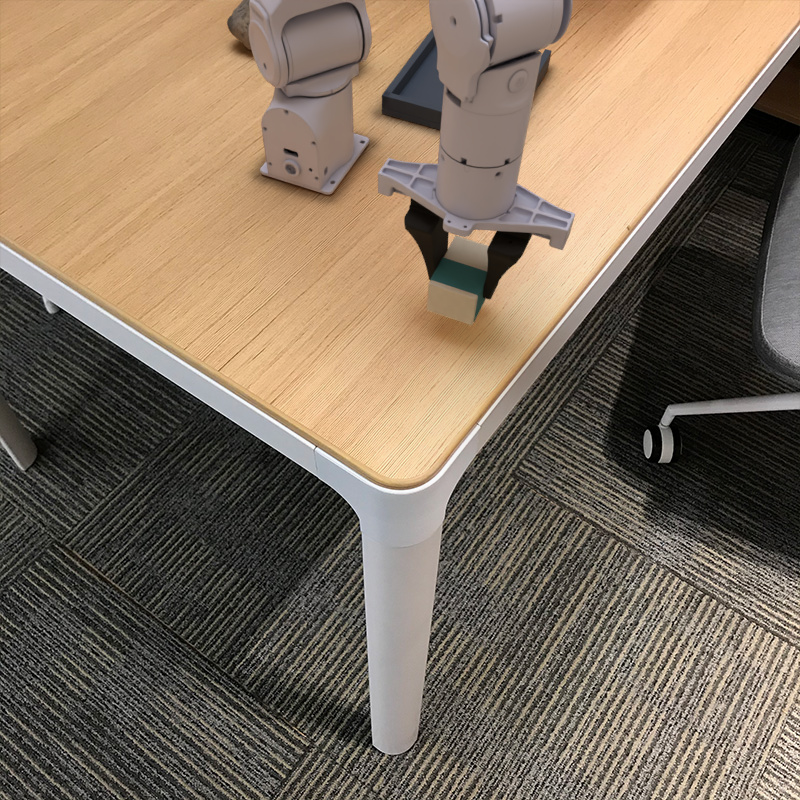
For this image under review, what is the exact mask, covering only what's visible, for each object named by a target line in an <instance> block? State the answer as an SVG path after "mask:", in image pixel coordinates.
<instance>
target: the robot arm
mask: <svg viewBox="0 0 800 800" xmlns="http://www.w3.org/2000/svg"><path fill="white" fill-rule="evenodd" d="M573 5H574V0H428V7H429V18H430V19H429V20H430V24H431V30H432V29H433V33H434V36H435V40H436V44H437V53H438V55H437V70H438V71H439V79H440V81H441V82H442V83H443V84H444V93H443V105H442V117H441V129H440V130H439V131H440V132H439V141H438V142H439V143H438V155H437V163H431V162H414V161H404V160H399V159H395V158H391V157H388V158H387V159H386V161H385V162H384V164H383V165H382V166H381V168H380V169H379V171H378V172H377V194H380V195H381V196H386V197H393V195H394V193H396V194H399V195H402V196H406V197H408V198H410V204H409V207H408V210H407V212H406V214H405V215H404V219H403V222H404V229H405V230H406V231H407V232H408V233H409V234H410V236H411V238H413V240H414V241H415V243H416V244H417V247H418V249H419V250H420V253H421V255H422V258H423V262H424V264H425V267H426V271H427V276H428V280H429V281H430V279H431V277H432V275H433V274H434V272H435V270H436V268H437V266H438V265H439V263H440V261H441V259H442V258H443V257H444V255H445V254H446V252H447V250H448V248H449V234H452V235H455V236H459V237H462V238H467V237H470V236H471V235H472V233H473V232H474V230H476V231H490V232H492V231H493V232H495V233H494V234H493V237H492V239H491V241H490V243H489V245H488V246H489V247H488V249H487V256H488V267H487V276H486V280H485V284H484V288H483V298H486V299H485V300H491V299H492V298H493V296H494V293H495V291H496V289H497V287H498V285H499V283H500V281H501V279H502V277H503V276H504V275H505V274H506V273H507V272H508V271H509V270H510V269H511V268H512V267H514V265H516V264H517V263H518V262H519V260H520V259H521V258H522V256H523V255H524V253H525V251H526V250H527V248H528V245H529V242H530V241H531V238H532V237H533V236H536V237H538V238H542V239H545V240H548V241H549V242H548V245H549V247H551V248H554V249H556V250H559V251H563V250H564V248H565V246H566V244H567V241H568V239H569V237H570V235H571V231H572V227H573V224H574V221H575V217H576V213H575V212H572V211H569V210H566V209H563V208H561V207H559V206H557V205H555V204H553V203H551V202H549V201H548V200H546V199H545V198H543V197H541V196H540V195H538V194H537V193H535V192H533V191H532V190H530V189H528V188H527V187H524V186H523V185H521V184H520V183H518V181H519V175H520V170H521V164H522V159H523V155H524V148H525V145H526V139H527V133H528V129H529V123H530V119H531V113H532V108H533V102H534V97H535V93H536V91H535V87H536V82H537V76H538V71H539V66H540V61H541V55H542V54H543V52H542V51H541V50H543V49H544V50H545V49H547V48H548V47H549V46H550V45H553V44H556V43H557V42H558V41H560V40H561V39H562V38H563V37H564V35H565V34H566V32H567V30H568V28H569V25H570V22H571V19H572V16H573V15H572V13H573V7H574V6H573ZM249 7H250V24H249V40H250V45H251V53H252V56H253V59H254V62H255V64H256V67H257V69H258V71H259V72H260V74H261V76H262V78H263V79H264V80H265V81H266V82H267V83H268V84H270V85H271V86H272V87H274V90H273V94H272V95H273V96H272V98H271V101H270V103H269V105H268V107H267V108H266V110H265V112H264V113H263V114H262V118H261V122H260V124H261V125H260V126H261V127H260V128H261V134H262V141H263V147H264V148H263V149H264V155H265V162H264V163H263V165H262V166H261V167H260V168H259V172H260V174H261V175H263V176H266V177H269V178H272V179H275V180H278V181H282V182H285V183H289V184H292V185H295V186H298V187H301V188H305V189H308V190H311V191H314V192H318V193H320V194H324V195H327V196H329V195H332V194H333V193H334V192H335V190H336V189H337V188H338V187H339V185H340V183H341V182H342V181H343V179H344V178H345V177H346V175H347V174H348V173H349V171H350V170H351V169H352V167H353V166H354V164H355V163H356V162H357V160H358V159H359V157H360V156H361V155H362V154H363V152H364V151H365V149H366V148H367V147H368V145H369V144H370V138H369V137H368V136H366V135H361V134H358V133H355V130H354V126H355V125H354V96H353V94H354V93H353V92H354V91H353V78H355V77H356V76H359V75H360V65H359V64H360V63H363V62H365V61H366V60H367V59H368V57H369V55H370V53H371V47H372V42H373V33H372V24H371V21H370V17H369V15H368V11H367V5H366V0H250V2H249ZM534 92H535V93H534Z"/></svg>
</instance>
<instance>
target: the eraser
mask: <svg viewBox="0 0 800 800" xmlns="http://www.w3.org/2000/svg"><path fill="white" fill-rule="evenodd" d="M453 237H454V238H453V239H452V241H451V243H450V244H449V245H448V250H447V252H446V254H445V255H444V257H443V258H442V259H441V261H440V263H439V265H438V266H437V268H436V270H435V272H434V274H433V275H432V277H431V279H430V280H429V282H428V286H427V290H428V291H427V298H426V300H427V301H426V311H427V312H430V313H433V314H437V315H440V316H443V317H446V318H448V319H451V320H454V321H457V322H460V323H462V324H466V325H469V326H472V325H473V324H474V323H475V322H476V320H477V318H478V317H479V314H480V311H481V309H482V308H483V306H484V303H485V301H486V300H487V299H486V298H483V288H484V284H485V280H486V276H487V267H488V256H487V249H488V247H489V245H487V244H484V243H481V242H477V241H476V240H475V241H474V240H471V239H468V238H466V237H462V236H458V235H455V236H453Z"/></svg>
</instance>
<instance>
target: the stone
mask: <svg viewBox="0 0 800 800" xmlns="http://www.w3.org/2000/svg"><path fill="white" fill-rule="evenodd" d="M249 2H250V0H241V2H240V3H239V4H238V6H236V7H235V8H234V9H233V11H232V14H231V15H230V16H228V18H227V21H226V25H227V29H228V31H229V32H230V33H231V35H232V36H234V38H236V39H237V40H239V41H240V42H241V43H242V44H243V46H244V47H245V48H246V49H247V50H249V51H250V50H251V45H250V40H249V24H250V7H249ZM251 51H252V50H251Z"/></svg>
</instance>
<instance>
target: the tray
mask: <svg viewBox="0 0 800 800" xmlns="http://www.w3.org/2000/svg"><path fill="white" fill-rule="evenodd" d="M437 55H438V53H437V44H436V40H435V36H434V33H433V29H432V28H431V30H430V31H429V32H428V33H427V35H426V36H425V37H424V39H423V40H422V41H421V43H420V44H419V45H418V47H417V48H416V50H414V52H413V53H412V54H411V56H410V57H409V58H408V59H407V61H406V63H405V64H404V65H403V66H402V68H401V69H400V71H399V72H398V73H397V75H396V76H395V77H394V78H393V80H391V82H390V83H389V85H388V86H387V88H386V89H385V90H384V92H383V93H382V94H381V114H382V115H386V116H389V117H393V118H395V119H396V118H397V119H400V120H403V121H407V122H410V123H413V124H417V125H421V126H425V127H427V128H432V129H435V130H438V131H440V129H441V117H442V105H443V93H444V84H443V83H442V82H441V81H440V79H439V71H438V70H437ZM551 56H552V50H551V49H548V48H544V50H543V51H542V55H541V61H540V66H539V71H538V76H537V82H536V87H535V92H534V94H535V93H536V91H537V90H538V87H539V86H540V84H541V82H542V81H543V79H544V77H545V76H546V73H547V72H548V70H549V67H550V61H551Z"/></svg>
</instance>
